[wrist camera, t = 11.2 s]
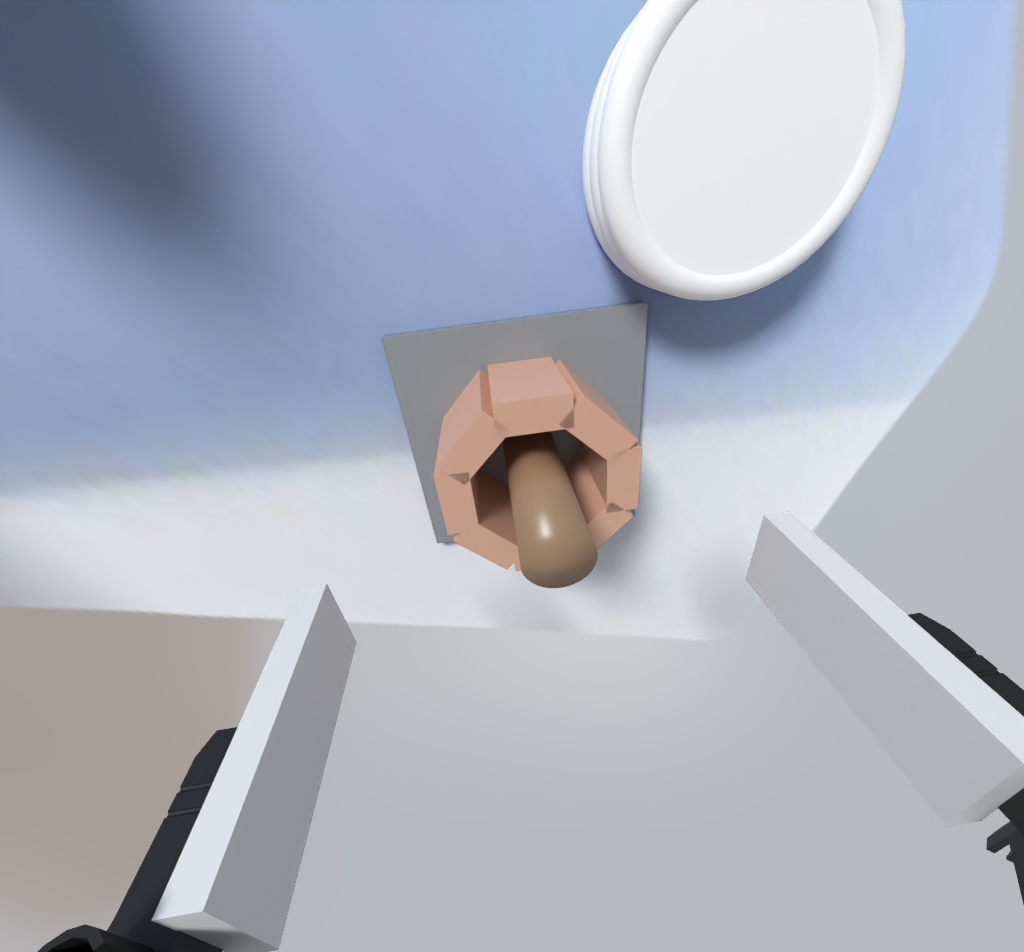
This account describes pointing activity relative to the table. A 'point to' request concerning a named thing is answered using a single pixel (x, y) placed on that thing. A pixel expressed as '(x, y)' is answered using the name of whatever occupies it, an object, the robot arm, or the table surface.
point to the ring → (526, 410)
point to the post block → (532, 457)
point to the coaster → (737, 136)
